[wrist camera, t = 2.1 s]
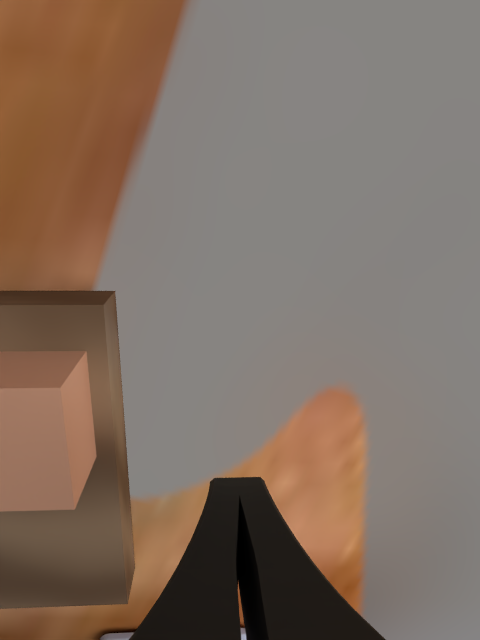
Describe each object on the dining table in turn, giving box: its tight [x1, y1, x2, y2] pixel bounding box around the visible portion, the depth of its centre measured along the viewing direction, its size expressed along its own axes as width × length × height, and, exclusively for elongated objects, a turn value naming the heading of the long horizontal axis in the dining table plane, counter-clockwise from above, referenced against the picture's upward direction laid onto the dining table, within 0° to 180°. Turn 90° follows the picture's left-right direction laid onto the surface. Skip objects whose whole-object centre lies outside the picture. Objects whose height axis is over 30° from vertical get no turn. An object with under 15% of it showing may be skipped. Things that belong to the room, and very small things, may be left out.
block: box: [0, 351, 97, 512], centre depth 16 cm, size 4×4×3 cm
